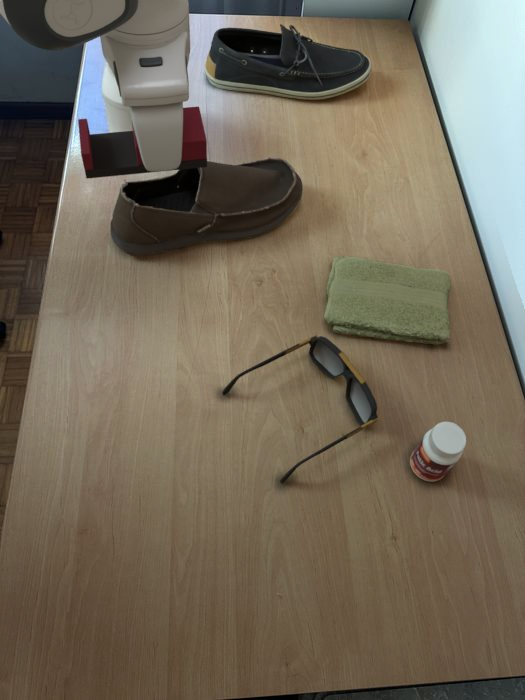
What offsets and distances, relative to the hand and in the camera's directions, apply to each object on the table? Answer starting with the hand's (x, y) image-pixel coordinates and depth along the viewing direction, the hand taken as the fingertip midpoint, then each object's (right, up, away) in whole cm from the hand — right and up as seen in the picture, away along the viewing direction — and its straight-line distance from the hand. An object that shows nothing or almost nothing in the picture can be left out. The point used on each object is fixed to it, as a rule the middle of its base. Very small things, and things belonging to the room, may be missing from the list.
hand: (155, 143), depth 78 cm
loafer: (+5, -5, +23) cm, 24 cm away
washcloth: (+30, -18, +17) cm, 39 cm away
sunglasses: (+17, -32, +8) cm, 37 cm away
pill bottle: (+33, -39, +5) cm, 51 cm away
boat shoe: (+17, +24, +41) cm, 51 cm away
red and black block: (-2, -1, +1) cm, 2 cm away
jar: (-7, +12, +32) cm, 35 cm away
